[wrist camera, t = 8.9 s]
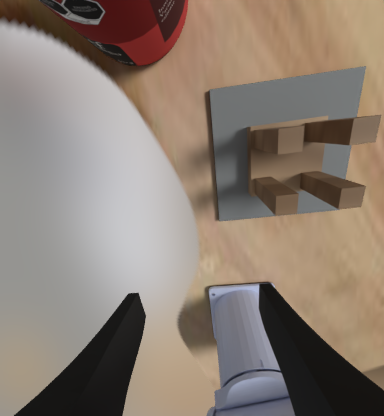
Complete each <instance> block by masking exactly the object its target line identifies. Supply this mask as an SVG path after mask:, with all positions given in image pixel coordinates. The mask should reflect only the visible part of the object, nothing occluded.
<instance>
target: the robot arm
mask: <svg viewBox="0 0 384 416" xmlns="http://www.w3.org/2000/svg"><path fill="white" fill-rule="evenodd" d="M212 293H214V294H212ZM209 298H210V307H211V315H212V323H213V332H214V338H215V339H216V340H217V350H218V362H219V374H220V386H221V389H219V390H216V391H215V407H211V408H210V410H209V411H208V413H207V416H384V390H383V389H381V388H380V387H379V386H378V385H376V384H375V383H374V382H372V381H371V380H370V379H369V378H367V377H366V376H365V375H364V374H362V373H361V372H360V371H359V370H357V369H356V368H355V367H354V366H352V365H351V364H350V363H349V362H348V361H347V360H345V359H344V358H343V357H342V356H341V355H340V354H338V353H337V352H336V351H335V350H334V349H333V348H332V347H331V346H329V345H328V344H327V343H326V342H325V341H324V340H323V339H322V338H321V337H320V336H319V335H318V334H317V333H316V332H315V331H314V330H313V329H312V328H311V327H310V326H309V325H308V324H307V323H306V322H305V321H304V320H303V319H302V318H301V317H300V316H299V315H298V314H297V313H296V312H295V311H294V310H293V309H292V307H291V306H290V305H289V304H288V303H287V302H286V301H285V300H284V298H283V297H282V296H281V295H280V294H279V293H278V291H277V290H276V289H275V286H274V284H273V283H258V284H243V285H229V286H214V287H210V288H209ZM145 318H146V315H145V312H144V309H143V306H142V303H141V299H140V296H139V293H130V294H128V295H127V296H126V298H125V299H124V300H123V301H122V303H121V304H120V305H119V307H118V308H117V309H116V311H115V312H114V313H113V314H112V316H111V317H110V318H109V320H108V321H107V322H106V323H105V325H104V326H103V327H102V328H101V330H100V331H99V332H98V333H97V334H96V336H95V337H94V338H93V339H92V340H91V341H90V343H89V344H88V345H87V346H86V347H85V348H84V349H83V350H82V352H81V353H80V354H79V355H78V356H77V357H76V358H75V359H74V360H73V361H72V362H71V363H70V365H68V367H66V368H65V369H64V370H63V371H62V372H61V373H60V375H58V376H57V377H56V378H55V379H54V380H53V381H52V382H51V383H50V384H49V385H48V386H47V387H46V388H45V389H44V390H43V391H41V393H40V394H39V395H37V396H36V397H35V398H34V399H33V400H31V401H30V402H29V403H28V404H27V405H26V406H25V407H24V408H22V409H21V410H20V411H19V412H18V413H16V415H14V416H122V414H123V410H124V405H125V399H126V395H127V390H128V386H129V382H130V379H131V375H132V371H133V368H134V364H135V361H136V357H137V354H138V350H139V347H140V343H141V339H142V336H143V330H144V325H145Z"/></svg>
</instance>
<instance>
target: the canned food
mask: <svg viewBox="0 0 384 416" xmlns="http://www.w3.org/2000/svg"><path fill="white" fill-rule="evenodd" d="M39 1H40V2H42V3H43V4H44V5H45V6H46V7H48V8H49V9H50V10H51V11H53V12H54V13H55V14H56V15H57V16H59V17H60V18H61V19H62V20H64V21H65V22H66V23H67V24H68V25H70V26H71V27H72V28H73V29H75V30H76V31H77V32H78V33H79V34H81V35H82V36H83V37H84V38H86V39H87V40H88V41H89V42H91V43H92V44H93V45H94V46H95V47H97V48H98V49H99V50H100V51H102V52H103V53H104V54H105V55H107V56H108V57H109V58H111V59H113V60H115V61H117V62H119V63H122V64H126V65H134V66H141V65H147V64H151V63H153V62H155V61H158V60H159V59H161V58H162V57H163V56H165V55H166V54H167V53H168V52H169V51H170V50H171V49H172V47H173V46H174V44H175V43H176V41H177V39H178V38H179V36H180V33H181V31H182V28H183V26H184V23H185V19H186V14H187V9H188V0H39Z"/></svg>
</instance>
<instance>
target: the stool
mask: <svg viewBox="0 0 384 416" xmlns="http://www.w3.org/2000/svg"><path fill="white" fill-rule="evenodd" d="M380 119H381V115H375V116H364V117H354V118H343V119H333V120H328V116H321V117H314V118H307V119H300V120H293V121H286V122H279V123H272V124H265V125H258V126H251V127H247V153H248V193H249V194H250V195H251V197H253V196H258V197H259V198H260V199H261V201H262V202H263V203H264V204H265V205H266V206H267V207H268V208H269V209H270V210H271V211H272V213H273V214H274V215H275V216H279V215H288V214H297V209H298V197H299V193H297V192H298V191H306V192H308V193H310V194H311V195H313V196H315V197H317V198H319V199H321V200H322V201H324V202H326V203H328V204H330V205H331V206H333V207H335V208H337V209H347V208H356V207H361V205H362V201H363V196H364V192H365V187H366V186H364V185H361V184H358V183H354V182H351V181H348V180H345V179H342V178H339V177H336V176H333V175H330V174H327V173H323V172H322V164H323V156H324V148H325V143H327V144H339V145H357V144H364V143H372V142H376V137H377V132H378V128H379V123H380Z"/></svg>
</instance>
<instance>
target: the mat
mask: <svg viewBox="0 0 384 416" xmlns="http://www.w3.org/2000/svg"><path fill="white" fill-rule="evenodd" d="M365 69H366V66H364V67H357V68H351V69H344V70H337V71H331V72H324V73H317V74H311V75H304V76H297V77H291V78H284V79H277V80H271V81H264V82H257V83H251V84H244V85H237V86H231V87H224V88H217V89H211V90H209V93H210V106H211V119H212V132H213V145H214V158H215V171H216V184H217V197H218V210H219V221H228V220H238V219H249V218H259V217H270V216H275V215H274V214H273V213H272V211H271V210H270V209H269V208H268V207H267V206H266V205H265V204H264V203H263V202H262V201H261V199H260V198H259V197H258V196H253V197H251V195H250V194H249V193H248V153H247V127H251V126H258V125H265V124H272V123H279V122H286V121H293V120H300V119H307V118H314V117H321V116H328V120H333V119H343V118H354V117H357V113H358V107H359V102H360V96H361V91H362V85H363V80H364V75H365ZM350 151H351V145H339V144H327V143H325V148H324V156H323V164H322V172H323V173H327V174H330V175H333V176H336V177H339V178H342V179H345V178H346V172H347V167H348V161H349V156H350ZM297 193H299V197H298V209H297V214H302V213H312V212H323V211H333V210H340V209H337V208H335V207H333V206H331V205H330V204H328V203H326V202H324V201H322V200H321V199H319V198H317V197H315V196H313V195H311V194H310V193H308V192H306V191H298V192H297ZM288 215H291V214H288ZM279 216H281V215H279Z"/></svg>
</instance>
